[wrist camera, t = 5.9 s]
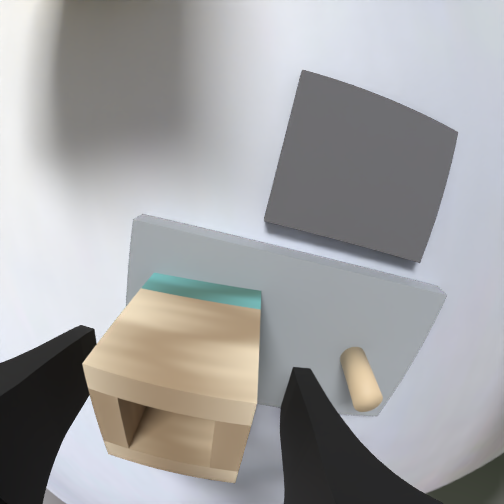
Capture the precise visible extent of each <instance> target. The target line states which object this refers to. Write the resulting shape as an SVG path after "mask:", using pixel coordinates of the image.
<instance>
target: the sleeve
mask: <svg viewBox="0 0 504 504" xmlns="http://www.w3.org/2000/svg"><path fill="white" fill-rule="evenodd" d="M260 315H261V291H259V290H253V289H246V288H240V287H234V286H228V285H222V284H216V283H210V282H204V281H198V280H192V279H187V278H181V277H175V276H170V275H164V274H159V273H153V274H152V276H151V277H150V278H149V279H148V280H147V282H146V283H145V284H144V285H143V286H142V288H141V289H140V290H139V291H138V293H137V294H136V295H135V296H134V297H133V299H132V300H131V301H130V302H129V304H128V305H127V306H126V307H125V309H124V310H123V311H122V312H121V314H120V315H119V316H118V317H117V319H116V320H115V321H114V323H113V324H112V325H111V326H110V328H109V329H108V330H107V332H106V333H105V334H104V335H103V337H102V338H101V339H100V341H99V342H98V343H97V345H96V346H95V347H94V349H93V350H92V351H91V353H90V354H89V355H88V357H87V358H86V359H85V361H84V362H83V363H82V365H83V369H84V374H85V378H86V382H87V386H88V390H89V394H90V398H91V401H92V405H93V408H94V412H95V415H96V419H97V422H98V425H99V428H100V431H101V434H102V437H103V440H104V443H105V446H106V449H107V452H108V454H110V455H113V456H116V457H119V458H122V459H125V460H129V461H132V462H135V463H139V464H142V465H146V466H149V467H153V468H157V469H161V470H165V471H169V472H174V473H178V474H183V475H188V476H193V477H198V478H204V479H209V480H216V481H223V482H230V483H235V482H236V478H237V475H238V471H239V468H240V464H241V461H242V457H243V454H244V450H245V446H246V443H247V439H248V436H249V432H250V428H251V424H252V421H253V417H254V413H255V409H256V406H257V393H258V368H259V343H260Z"/></svg>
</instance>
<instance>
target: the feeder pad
mask: <svg viewBox="0 0 504 504" xmlns="http://www.w3.org/2000/svg"><path fill="white" fill-rule="evenodd" d="M457 136H458V132H457V131H455V130H453V129H451V128H449V127H448V126H446V125H444V124H442V123H440V122H438V121H436V120H434V119H432V118H430V117H428V116H426V115H424V114H422V113H420V112H417V111H415V110H413V109H411V108H409V107H406V106H404V105H402V104H400V103H397V102H395V101H393V100H390V99H388V98H385V97H383V96H380V95H378V94H375V93H373V92H370V91H367V90H365V89H362V88H359V87H356V86H354V85H351V84H348V83H345V82H342V81H339V80H336V79H333V78H329V77H326V76H323V75H320V74H316V73H313V72H309V71H306V70H302V72H301V75H300V79H299V83H298V87H297V91H296V95H295V99H294V103H293V107H292V111H291V115H290V119H289V123H288V127H287V131H286V134H285V138H284V142H283V146H282V150H281V154H280V158H279V162H278V166H277V170H276V174H275V178H274V182H273V186H272V190H271V194H270V197H269V201H268V205H267V209H266V213H265V217H264V221H265V222H269V223H273V224H277V225H281V226H285V227H289V228H293V229H297V230H301V231H305V232H309V233H313V234H317V235H320V236H324V237H328V238H332V239H336V240H339V241H343V242H347V243H351V244H354V245H358V246H362V247H365V248H369V249H373V250H376V251H380V252H383V253H387V254H391V255H394V256H398V257H401V258H405V259H408V260H412V261H415V262H418V263H420V261H421V259H422V256H423V254H424V251H425V248H426V245H427V243H428V240H429V237H430V234H431V231H432V228H433V225H434V222H435V219H436V216H437V213H438V210H439V206H440V203H441V200H442V196H443V193H444V189H445V186H446V182H447V178H448V175H449V171H450V167H451V163H452V158H453V154H454V150H455V145H456V140H457Z"/></svg>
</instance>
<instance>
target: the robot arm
mask: <svg viewBox="0 0 504 504" xmlns="http://www.w3.org/2000/svg"><path fill="white" fill-rule="evenodd" d="M96 345H97V344H96V337H95V330H94V329H93V328H89V327H86V326H83V325H80V326H78V327H75V328H73V329H71V330H69V331H67V332H65V333H63V334H61V335H59V336H58V337H56V338H54V339H52V340H50V341H48V342H46V343H44V344H42V345H40V346H38V347H36V348H34V349H32V350H30V351H28V352H25V353H23V354H21V355H19V356H17V357H15V358H12V359H10V360H7V361H5V362H2V363H0V504H43V498H44V494H45V490H46V486H47V483H48V479H49V476H50V473H51V470H52V467H53V464H54V461H55V458H56V456H57V453H58V451H59V448H60V446H61V443H62V441H63V439H64V437H65V435H66V433H67V431H68V430H69V428H70V426H71V425H72V423H73V421H74V420H75V418H76V416H77V415H78V413H79V411H80V410H81V408H82V407H83V405H84V403H85V402H86V400H87V398H88V397H89V395H90V394H89V390H88V386H87V382H86V378H85V374H84V369H83V365H82V363H83V362H84V361H85V359H86V358H87V357H88V355H89V354H90V353H91V351H92V350H93V349H94V347H95V346H96ZM280 438H281V450H282V461H283V472H284V488H285V494H284V504H443V503H442V502H440V501H438V500H436V499H434V498H432V497H430V496H428V495H427V494H425V493H423V492H421V491H419V490H418V489H416V488H415V487H413V486H412V485H410V484H409V483H407V482H406V481H404V480H403V479H401V478H400V477H399V476H397V475H396V474H395V473H393V472H392V471H391V470H390V469H389V468H387V467H386V466H385V465H384V464H383V463H381V462H380V461H379V460H378V459H377V458H376V457H375V456H374V455H373V454H372V453H371V452H370V451H369V450H368V449H367V448H366V447H365V446H364V445H363V444H362V443H361V442H360V441H359V439H358V438H357V437H356V436H355V435H354V433H353V432H352V431H351V430H350V428H349V427H348V426H347V424H346V423H345V422H344V420H343V419H342V418H341V416H340V415H339V413H338V412H337V411H336V409H335V408H334V406H333V405H332V403H331V402H330V400H329V398H328V397H327V395H326V394H325V392H324V390H323V389H322V387H321V385H320V384H319V382H318V380H317V378H316V377H315V375H314V373H313V371H312V370H311V369H310V368H301V367H293V368H292V372H291V375H290V378H289V382H288V385H287V388H286V391H285V394H284V397H283V401H282V404H281V413H280Z"/></svg>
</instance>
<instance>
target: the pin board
mask: <svg viewBox="0 0 504 504" xmlns="http://www.w3.org/2000/svg"><path fill="white" fill-rule="evenodd" d="M153 273H159V274H164V275H170V276H175V277H181V278H187V279H192V280H198V281H204V282H210V283H216V284H222V285H228V286H234V287H240V288H246V289H253V290H259V291H261V315H260V343H259V368H258V393H257V404H261V405H267V406H274V407H280V408H281V404H282V401H283V397H284V394H285V391H286V388H287V385H288V382H289V378H290V375H291V372H292V368H293V367H301V368H310V369H311V370H312V371H313V373H314V375H315V377H316V378H317V380H318V382H319V384H320V385H321V387H322V389H323V390H324V392H325V394H326V395H327V397H328V398H329V400H330V402H331V403H332V405H333V406H334V408H335V409H336V411H337V412H338V413H339V414H342V415H357V416H378V415H379V413H380V412H381V411H382V409H383V408H384V406H385V405H386V403H387V402H388V400H389V399H390V397H391V396H392V394H393V393H394V391H395V390H396V388H397V387H398V385H399V384H400V382H401V380H402V379H403V377H404V376H405V374H406V372H407V371H408V369H409V367H410V366H411V364H412V362H413V361H414V359H415V357H416V356H417V354H418V352H419V350H420V348H421V347H422V345H423V343H424V341H425V339H426V337H427V336H428V334H429V332H430V330H431V328H432V326H433V324H434V322H435V320H436V318H437V316H438V314H439V312H440V310H441V308H442V306H443V303H444V301H445V299H446V297H447V295H446V294H445V293H444V292H443V291H442V290H441V289H440V288H439V287H438V286H435V285H431V284H427V283H423V282H419V281H416V280H412V279H408V278H404V277H400V276H396V275H392V274H388V273H384V272H380V271H376V270H373V269H369V268H365V267H361V266H357V265H353V264H349V263H345V262H341V261H337V260H333V259H329V258H325V257H321V256H317V255H313V254H308V253H304V252H300V251H296V250H292V249H288V248H284V247H280V246H276V245H272V244H268V243H263V242H259V241H255V240H251V239H247V238H243V237H238V236H234V235H230V234H226V233H222V232H217V231H213V230H209V229H205V228H201V227H196V226H192V225H188V224H183V223H179V222H175V221H171V220H166V219H162V218H158V217H153V216H149V215H145V214H142V215H140V216H138V217H136V218H135V219H133V225H132V233H131V243H130V253H129V265H128V278H127V295H126V306H127V305H128V304H129V302H130V301H131V300H132V299H133V297H134V296H135V295H136V294H137V293H138V291H139V290H140V289H141V288H142V286H143V285H144V284H145V283H146V282H147V280H148V279H149V278H150V277H151V276H152V274H153Z"/></svg>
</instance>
